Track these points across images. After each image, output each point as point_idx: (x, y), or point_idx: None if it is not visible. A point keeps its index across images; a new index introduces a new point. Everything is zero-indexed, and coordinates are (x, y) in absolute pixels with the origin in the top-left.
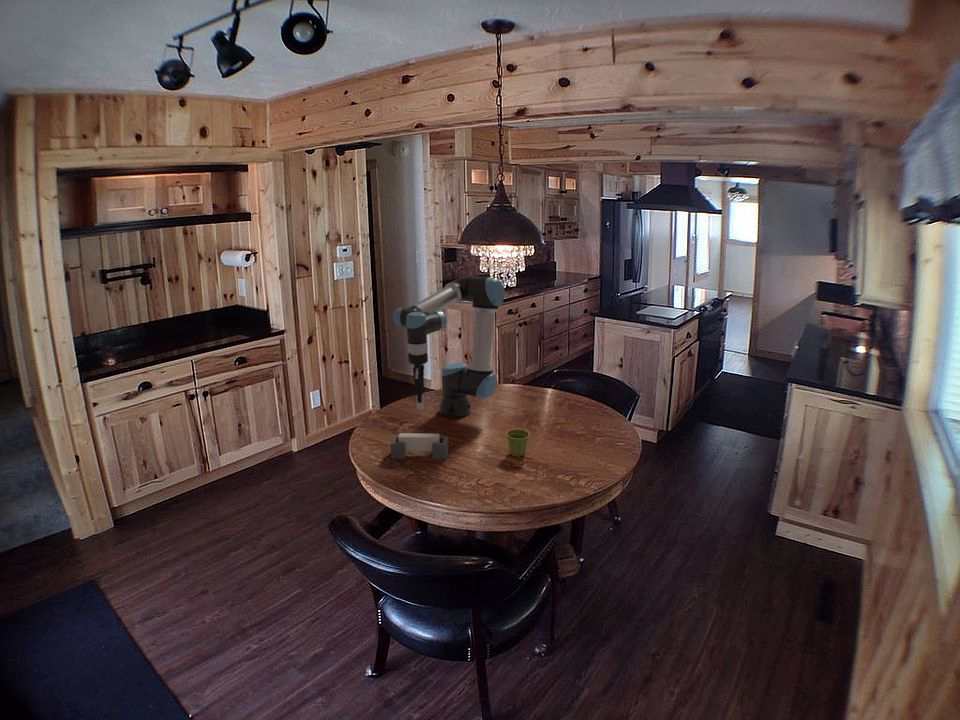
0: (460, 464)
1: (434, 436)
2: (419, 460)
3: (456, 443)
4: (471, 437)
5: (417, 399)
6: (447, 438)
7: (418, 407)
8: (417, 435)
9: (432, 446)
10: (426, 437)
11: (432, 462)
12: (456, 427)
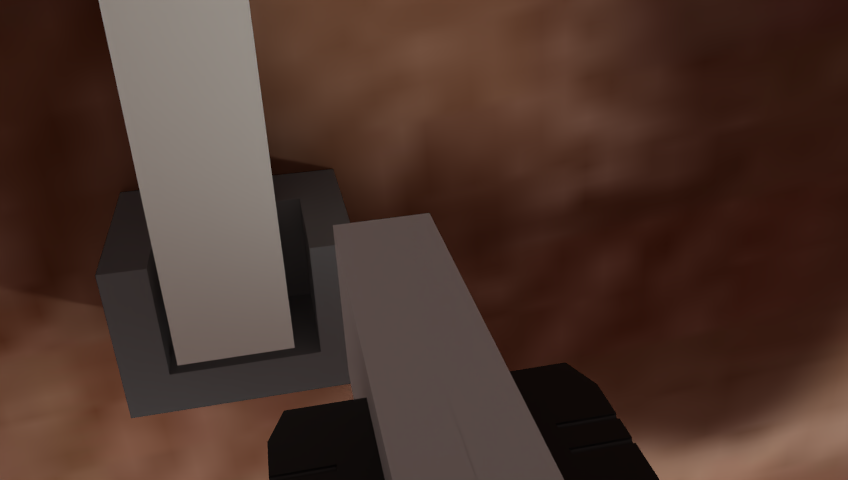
0: (82, 443)
1: (198, 313)
2: (57, 60)
3: (498, 321)
4: (614, 403)
5: (373, 435)
6: (305, 388)
7: (342, 293)
8: (184, 79)
9: (100, 265)
10: (147, 221)
11: (49, 206)
12: (824, 249)
